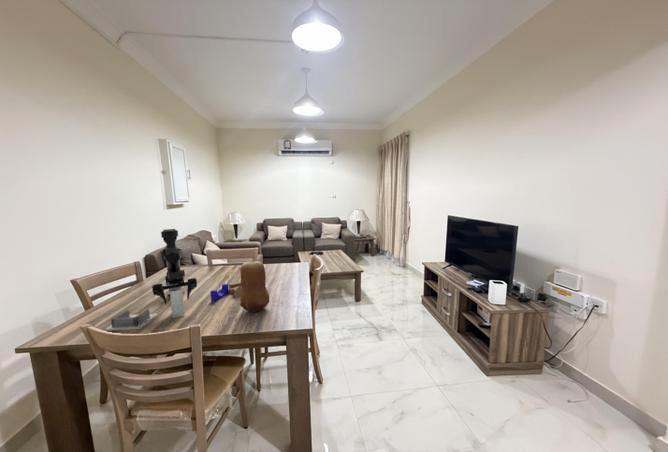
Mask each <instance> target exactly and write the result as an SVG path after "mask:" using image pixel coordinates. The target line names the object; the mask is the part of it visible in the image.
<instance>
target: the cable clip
mask: <svg viewBox="0 0 668 452" xmlns="http://www.w3.org/2000/svg"><path fill="white" fill-rule="evenodd" d="M229 294H230V290H229V283H222V285H221V289H219V290H218V289H217V290H216V289H211V290H210V302H214V303H215V302H218V301H220V300H221V299H222V298H224V297H226V296H227V295H229Z"/></svg>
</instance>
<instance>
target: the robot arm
mask: <svg viewBox="0 0 668 452" xmlns="http://www.w3.org/2000/svg"><path fill="white" fill-rule="evenodd" d="M178 233H179V231H178V230H176V228H169V229H168V228H167V229H163V230H162V231H160V235H161V238H162V240H163V242H164V243H165V244H166V250H165V252H164V256H163V262H164V263H165V264H166V273H165V274H166V276H165V285H163V283H161V282H160V283H155V284H153V285H152V286H151V287H152V293H153V295H154V296H157V297H160V299H162V301H163V303H164V304H165V305H167V299H166V296H169V297H170V289H172V288H177V287H182V288H183V287H187V289H186V290H187V293H186V296H187V297H186V298H187V299H186V300H189V299H190V295H191V292H192V290H194V289H195V288H197V287H198V286H197V285H198V280H197V278H196V277H193V278H187V281H185V280H184V279H185V278H184V277H185V276H186V273H185V270H184V269H181V261H182V260H183V259H184V258H183V255H181V253H179V252H180V251H179V249H177V247H176V242H177V240H178V237H179V234H178ZM165 290H168V291H169V292H168V293H167V294H166V295H165ZM182 292H183V294H184V291H182Z"/></svg>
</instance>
